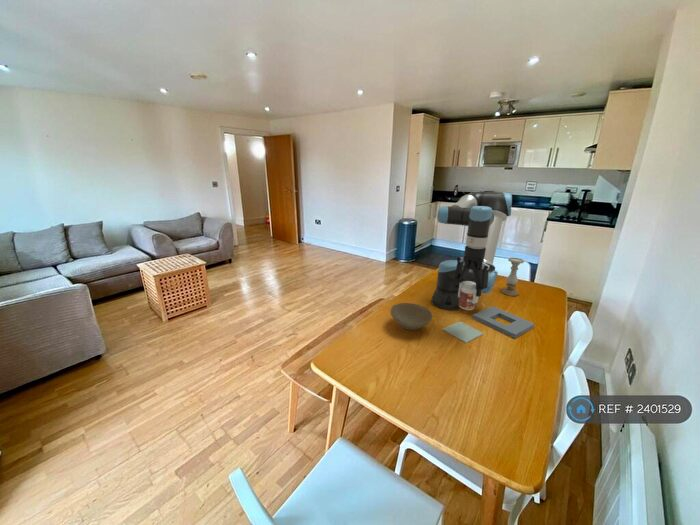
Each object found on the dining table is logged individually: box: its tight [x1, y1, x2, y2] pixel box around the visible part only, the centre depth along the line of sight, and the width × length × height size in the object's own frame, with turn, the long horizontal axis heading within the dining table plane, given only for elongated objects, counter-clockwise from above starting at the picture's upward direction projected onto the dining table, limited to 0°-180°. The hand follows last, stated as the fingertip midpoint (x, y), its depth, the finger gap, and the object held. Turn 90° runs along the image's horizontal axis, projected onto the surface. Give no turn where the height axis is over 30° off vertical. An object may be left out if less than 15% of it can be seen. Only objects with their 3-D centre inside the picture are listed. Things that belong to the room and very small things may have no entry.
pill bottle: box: [459, 281, 476, 311], centre depth 116 cm, size 6×6×11 cm
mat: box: [442, 321, 484, 344], centre depth 122 cm, size 12×12×1 cm
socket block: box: [472, 305, 536, 340], centre depth 129 cm, size 20×16×2 cm
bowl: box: [389, 302, 433, 331], centre depth 124 cm, size 18×18×8 cm
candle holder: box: [500, 257, 525, 297], centre depth 156 cm, size 9×9×20 cm
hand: (467, 299), depth 117 cm, fingers closed on pill bottle, 6 cm apart
